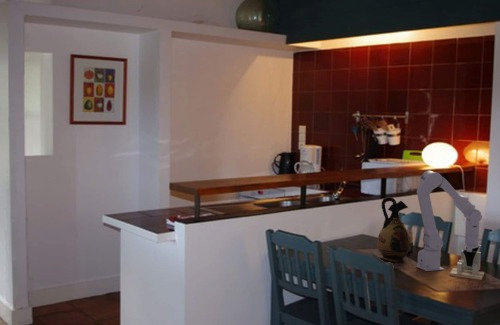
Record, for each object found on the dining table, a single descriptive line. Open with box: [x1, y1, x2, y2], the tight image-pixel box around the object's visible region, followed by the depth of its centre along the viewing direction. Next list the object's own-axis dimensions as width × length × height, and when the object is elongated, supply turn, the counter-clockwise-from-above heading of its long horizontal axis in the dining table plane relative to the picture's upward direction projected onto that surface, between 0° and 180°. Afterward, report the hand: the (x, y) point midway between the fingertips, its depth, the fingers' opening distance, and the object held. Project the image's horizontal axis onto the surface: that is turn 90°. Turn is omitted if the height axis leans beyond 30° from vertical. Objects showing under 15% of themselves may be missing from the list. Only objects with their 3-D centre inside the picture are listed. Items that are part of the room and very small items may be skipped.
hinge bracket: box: [449, 259, 485, 281], centre depth 253 cm, size 10×13×5 cm
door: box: [460, 249, 482, 271], centre depth 264 cm, size 3×8×8 cm, turn 63°
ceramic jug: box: [376, 196, 411, 263], centre depth 277 cm, size 17×15×30 cm
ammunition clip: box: [407, 228, 414, 253], centre depth 292 cm, size 11×2×12 cm, turn 101°
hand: (470, 264), depth 264 cm, fingers open, 7 cm apart
